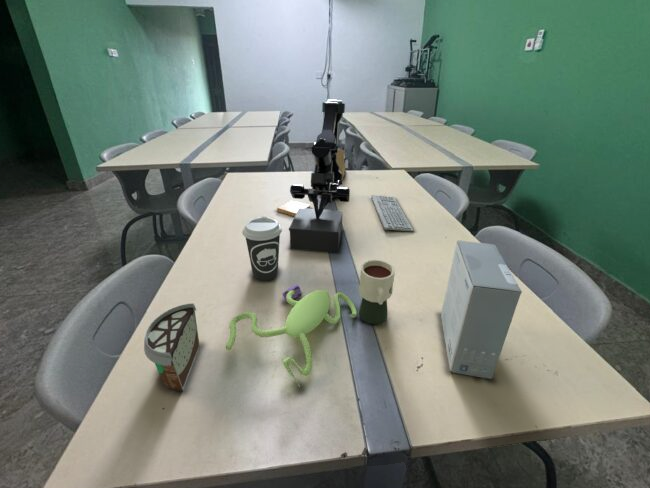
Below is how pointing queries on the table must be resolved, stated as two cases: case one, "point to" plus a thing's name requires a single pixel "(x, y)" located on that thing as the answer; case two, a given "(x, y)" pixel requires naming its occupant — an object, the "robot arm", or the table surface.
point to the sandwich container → (341, 162)
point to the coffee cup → (263, 246)
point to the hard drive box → (477, 308)
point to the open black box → (315, 241)
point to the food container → (173, 345)
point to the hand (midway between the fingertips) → (317, 218)
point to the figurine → (298, 320)
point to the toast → (292, 207)
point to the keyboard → (391, 213)
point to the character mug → (375, 290)
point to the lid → (316, 221)
